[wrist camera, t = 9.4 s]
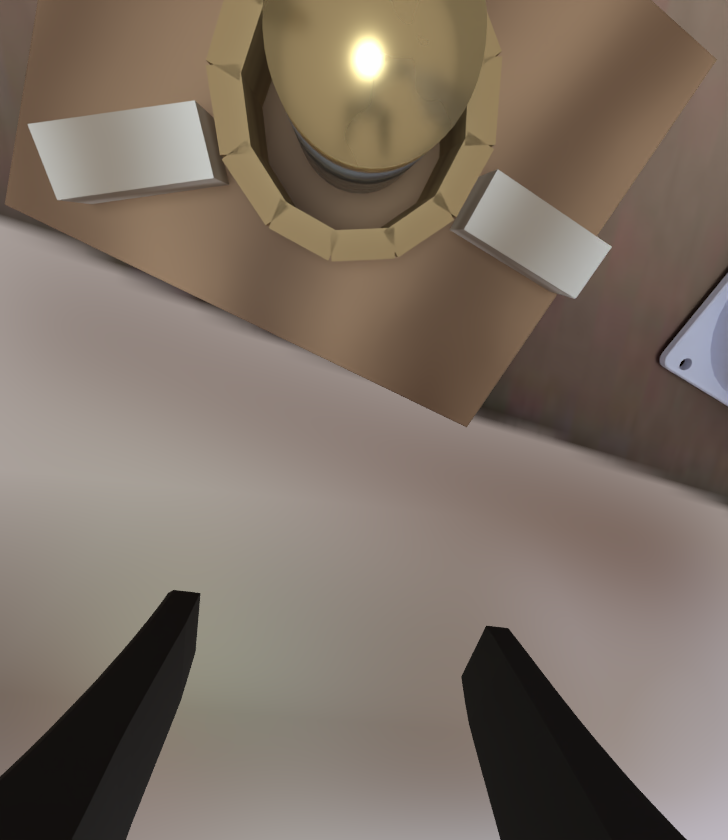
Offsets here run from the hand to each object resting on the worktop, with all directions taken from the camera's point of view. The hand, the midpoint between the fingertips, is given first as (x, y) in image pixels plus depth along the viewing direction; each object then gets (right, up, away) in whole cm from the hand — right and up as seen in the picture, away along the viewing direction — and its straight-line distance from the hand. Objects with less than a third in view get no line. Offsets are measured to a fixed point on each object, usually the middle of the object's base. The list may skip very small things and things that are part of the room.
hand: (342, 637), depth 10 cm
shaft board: (0, +15, +4) cm, 15 cm away
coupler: (0, +15, +3) cm, 15 cm away
